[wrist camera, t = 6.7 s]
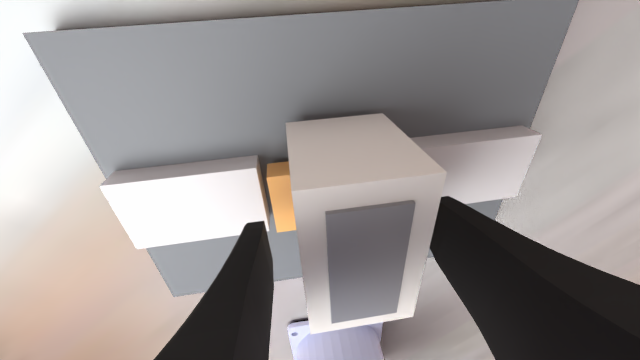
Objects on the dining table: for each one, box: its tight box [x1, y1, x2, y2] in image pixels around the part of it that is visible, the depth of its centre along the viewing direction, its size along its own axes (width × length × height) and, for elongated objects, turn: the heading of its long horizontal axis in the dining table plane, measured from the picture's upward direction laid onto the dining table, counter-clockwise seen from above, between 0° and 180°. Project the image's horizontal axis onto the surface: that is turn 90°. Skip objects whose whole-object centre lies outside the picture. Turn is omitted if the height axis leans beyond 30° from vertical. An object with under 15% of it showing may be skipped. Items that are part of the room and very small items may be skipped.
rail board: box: [23, 0, 579, 297], centre depth 13 cm, size 14×20×3 cm
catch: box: [266, 161, 296, 233], centre depth 12 cm, size 3×6×1 cm, turn 93°
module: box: [286, 113, 447, 334], centre depth 10 cm, size 6×4×5 cm, turn 3°
